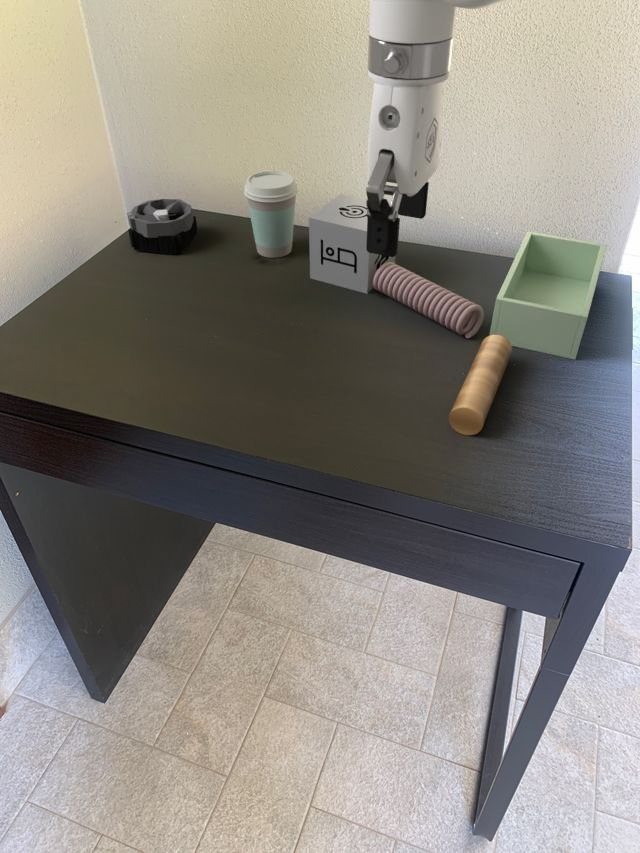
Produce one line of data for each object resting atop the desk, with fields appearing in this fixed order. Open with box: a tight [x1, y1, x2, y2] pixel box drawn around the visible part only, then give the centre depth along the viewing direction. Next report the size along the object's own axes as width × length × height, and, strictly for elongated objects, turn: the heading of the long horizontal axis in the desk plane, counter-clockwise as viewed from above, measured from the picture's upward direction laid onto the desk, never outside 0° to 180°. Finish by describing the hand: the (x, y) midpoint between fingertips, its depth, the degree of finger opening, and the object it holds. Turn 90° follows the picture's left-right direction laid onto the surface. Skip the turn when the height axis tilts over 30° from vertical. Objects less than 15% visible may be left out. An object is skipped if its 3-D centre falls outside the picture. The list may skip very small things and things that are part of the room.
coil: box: [373, 262, 485, 339], centre depth 98 cm, size 5×5×18 cm
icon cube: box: [308, 193, 400, 295], centre depth 105 cm, size 10×10×10 cm
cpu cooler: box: [126, 198, 199, 255], centre depth 115 cm, size 10×6×10 cm
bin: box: [488, 230, 608, 361], centre depth 97 cm, size 12×22×7 cm, turn 156°
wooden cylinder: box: [448, 334, 513, 436], centre depth 84 cm, size 16×4×4 cm, turn 156°
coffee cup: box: [243, 169, 299, 259], centre depth 111 cm, size 9×8×12 cm
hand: (397, 233), depth 73 cm, fingers open, 9 cm apart
